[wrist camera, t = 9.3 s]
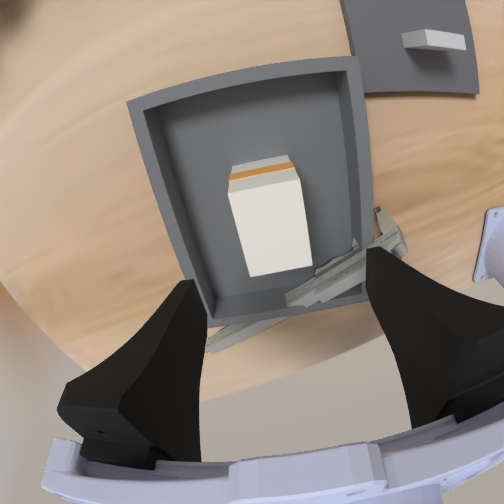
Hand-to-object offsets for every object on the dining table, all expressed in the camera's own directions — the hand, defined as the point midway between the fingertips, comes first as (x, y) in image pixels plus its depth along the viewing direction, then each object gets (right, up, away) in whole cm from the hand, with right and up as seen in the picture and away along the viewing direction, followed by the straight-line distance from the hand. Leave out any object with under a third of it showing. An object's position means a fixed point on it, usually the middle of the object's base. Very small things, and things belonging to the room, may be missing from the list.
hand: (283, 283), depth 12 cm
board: (+8, +23, -3) cm, 25 cm away
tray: (0, +5, +8) cm, 9 cm away
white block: (0, +5, +7) cm, 9 cm away
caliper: (+1, -2, +13) cm, 13 cm away
